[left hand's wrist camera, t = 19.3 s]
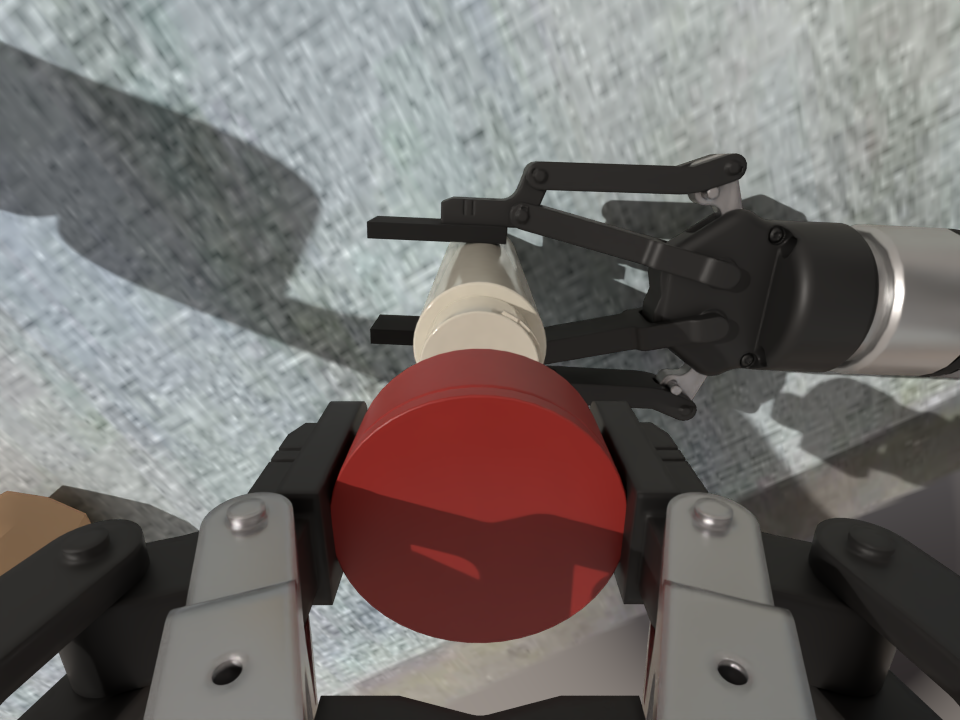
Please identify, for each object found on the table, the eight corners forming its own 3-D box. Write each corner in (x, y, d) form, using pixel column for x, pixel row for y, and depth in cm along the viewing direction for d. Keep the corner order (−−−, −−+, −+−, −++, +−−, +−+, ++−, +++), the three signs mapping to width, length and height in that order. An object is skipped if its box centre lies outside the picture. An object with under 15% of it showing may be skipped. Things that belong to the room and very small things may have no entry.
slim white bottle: (494, 310, 34) (506, 459, 17) (432, 276, 33) (379, 396, 16) (531, 248, 32) (582, 342, 16) (466, 211, 32) (448, 268, 15)
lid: (444, 295, 10) (435, 333, 8) (652, 434, 11) (692, 500, 9) (312, 487, 11) (275, 562, 9) (506, 594, 12) (511, 683, 10)
